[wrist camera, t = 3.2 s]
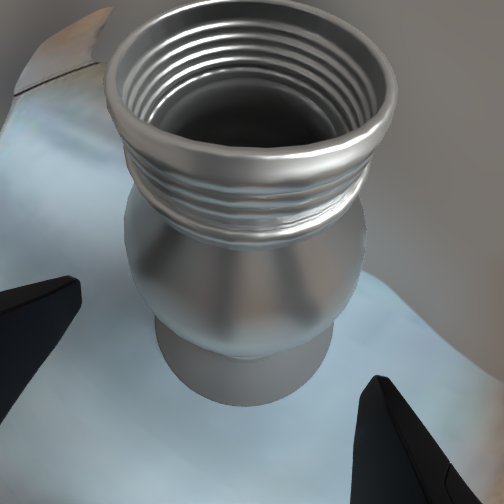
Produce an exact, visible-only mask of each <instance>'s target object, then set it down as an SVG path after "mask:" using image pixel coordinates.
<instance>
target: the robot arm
mask: <svg viewBox="0 0 504 504" xmlns="http://www.w3.org/2000/svg"><path fill="white" fill-rule="evenodd" d="M81 304H82V296H81V284H80V281H79V280H78V279H76V278H74V277H72V276H69V275H67V276H63V277H59V278H55V279H50V280H46V281H42V282H38V283H34V284H30V285H26V286H21V287H17V288H13V289H9V290H5V291H1V292H0V424H1V423H2V421H3V420H4V418H5V417H6V415H7V414H8V412H9V411H10V409H11V408H12V406H13V405H14V403H15V402H16V400H17V399H18V397H19V396H20V394H21V393H22V391H23V390H24V389H25V387H26V386H27V384H28V383H29V382H30V380H31V379H32V377H33V376H34V375H35V373H36V372H37V370H38V369H39V368H40V366H41V365H42V364H43V362H44V361H45V360H46V358H47V357H48V356H49V354H50V353H51V352H52V350H53V349H54V348H55V346H56V345H57V344H58V342H59V341H60V339H61V338H62V336H63V334H64V333H65V331H66V330H67V328H68V326H69V325H70V323H71V322H72V320H73V319H74V317H75V315H76V314H77V312H78V311H79V309H80V307H81ZM350 504H482V503H481V502H480V500H479V499H478V498H477V497H476V496H475V494H474V493H473V492H472V491H471V489H470V488H469V487H468V486H467V485H466V483H465V482H464V480H463V479H462V478H461V476H460V475H459V474H458V472H457V471H456V469H455V468H454V467H453V465H452V464H451V463H450V461H449V460H448V458H447V457H446V455H445V454H444V453H443V451H442V450H441V448H440V447H439V446H438V444H437V443H436V441H435V440H434V439H433V437H432V436H431V434H430V433H429V432H428V430H427V429H426V427H425V426H424V425H423V423H422V422H421V421H420V419H419V418H418V417H417V415H416V414H415V412H414V411H413V410H412V408H411V407H410V406H409V404H408V403H407V402H406V400H405V399H404V398H403V396H402V395H401V394H400V392H399V391H398V390H397V388H396V387H395V386H394V384H393V383H392V382H391V380H390V379H389V378H388V377H385V376H380V375H375V376H374V377H373V378H372V379H371V380H370V382H369V383H368V385H367V386H366V388H365V389H364V390H363V392H362V393H361V396H360V399H359V407H358V415H357V423H356V430H355V437H354V446H353V466H352V483H351V497H350Z"/></svg>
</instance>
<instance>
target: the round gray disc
mask: <svg viewBox="0 0 504 504" xmlns="http://www.w3.org/2000/svg"><path fill="white" fill-rule="evenodd" d="M155 325H156V333H157V339H158V342H159V345H160V348H161V351H162V353H163V355H164V357H165V360H166V361H167V363H168V365H169V366H170V368H171V369H172V371H173V372H174V373H175V374H176V375H177V377H178V378H179V379H180V380H181V381H182V382H183V383H184V384H186V385H187V386H188V387H189V388H190V389H192V390H193V391H195V392H196V393H198V394H199V395H201V396H203V397H206V398H208V399H210V400H212V401H215V402H218V403H221V404H226V405H232V406H245V407H247V406H258V405H263V404H268V403H272V402H274V401H277V400H279V399H282V398H284V397H286V396H288V395H290V394H291V393H293V392H295V391H296V390H297V389H299V388H300V387H301V386H303V385H304V384H305V383H306V382H307V381H308V380H309V379H310V378H311V377H312V376H313V375H314V373H315V372H316V371H317V369H318V368H319V367H320V365H321V363H322V361H323V360H324V358H325V356H326V353H327V351H328V349H329V346H330V342H331V338H332V333H333V325H334V321H333V323H332V324H331V325H330V326H329V327H328V328H327V329H325V330H324V331H322V332H321V333H320V334H318V335H317V336H315V337H314V338H313V339H311V340H310V341H308V342H307V343H304V344H302V345H299V346H297V347H295V348H292V349H290V350H287V351H285V352H281V353H276V354H275V355H273V356H271V357H270V358H268V359H265V360H262V361H260V362H254V363H238V362H234V361H230V360H228V359H225V358H223V357H221V356H219V355H218V354H217V353H215V352H214V351H210V350H206V349H203V348H201V347H199V346H197V345H195V344H193V343H191V342H189V341H187V340H185V339H183V338H182V337H180V336H178V335H177V334H176V333H175V332H173V331H172V330H171V329H170V328H169V327H167V326H166V325H165V324H164V323H162V322H161V321H160V320H159V319H158V318H157V316H156V315H155Z"/></svg>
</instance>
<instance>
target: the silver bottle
mask: <svg viewBox="0 0 504 504" xmlns="http://www.w3.org/2000/svg"><path fill="white" fill-rule="evenodd" d="M103 79H104V92H105V96H106V102H107V109H108V111H109V113H110V115H111V118H112V120H113V122H114V124H115V126H116V128H117V131H118V133H119V135H120V137H121V139H122V141H123V143H124V153H125V159H126V164H127V168H128V170H129V172H130V174H131V176H132V178H133V180H134V184H133V187H132V189H131V191H130V194H129V196H128V200H127V205H126V210H125V216H124V241H125V247H126V252H127V256H128V261H129V265H130V269H131V272H132V276H133V279H134V282H135V284H136V286H137V288H138V290H139V292H140V294H141V296H142V298H143V300H144V301H145V302H146V304H147V305H148V306H149V308H150V309H151V310H152V311H153V313H154V314H155V315H156V316H157V318H158V319H159V320H160V321H161V322H162V323H164V324H165V325H166V326H167V327H169V328H170V329H171V330H172V331H173V332H175V333H176V334H177V335H178V336H180V337H182V338H183V339H185V340H187V341H189V342H191V343H193V344H195V345H197V346H199V347H201V348H203V349H206V350H210V351H214V352H215V353H217V354H218V355H219V356H221V357H223V358H225V359H228V360H230V361H234V362H238V363H254V362H260V361H262V360H265V359H268V358H270V357H271V356H273V355H275V354H276V353H281V352H285V351H287V350H290V349H292V348H295V347H297V346H299V345H302V344H304V343H307V342H308V341H310V340H311V339H313V338H314V337H315V336H317V335H318V334H320V333H321V332H322V331H324V330H325V329H327V328H328V327H329V326H330V325H331V324H332V323H333V321H334V320H335V319H336V318H337V317H338V316H339V315H340V314H341V312H342V311H343V310H344V309H345V307H346V305H347V304H348V302H349V300H350V298H351V296H352V295H353V293H354V291H355V289H356V286H357V283H358V279H359V276H360V272H361V269H362V265H363V260H364V255H365V249H366V231H367V228H366V222H365V216H364V209H363V206H362V203H361V200H360V197H359V195H358V194H359V192H360V190H361V188H362V186H363V185H364V183H365V181H366V179H367V177H368V174H369V169H370V165H371V161H372V156H373V154H374V152H375V151H376V149H377V147H378V145H379V144H380V142H381V140H382V139H383V136H384V135H385V133H386V131H387V130H388V127H389V126H390V124H391V122H392V120H393V115H394V109H395V107H396V105H397V96H398V85H397V81H396V77H395V73H394V71H393V69H392V67H391V65H390V63H389V61H388V59H387V58H386V56H385V55H384V54H383V53H382V52H381V50H380V49H379V48H378V47H377V46H376V44H374V42H372V41H371V40H370V39H369V38H368V37H367V36H366V35H364V34H363V33H362V32H361V31H360V30H358V29H357V28H355V27H353V26H352V25H350V24H349V23H347V22H346V21H344V20H342V19H340V18H338V17H336V16H334V15H332V14H330V13H328V12H325V11H323V10H320V9H317V8H314V7H312V6H309V5H306V4H302V3H298V2H294V1H290V0H199V1H195V2H192V3H188V4H184V5H181V6H178V7H175V8H173V9H170V10H168V11H165V12H163V13H161V14H159V15H157V16H155V17H153V18H151V19H150V20H148V21H146V22H144V23H143V24H141V25H140V26H139V27H138V28H136V29H135V30H133V31H132V32H131V33H130V34H129V35H127V36H126V37H125V39H124V40H123V41H122V42H121V43H120V44H119V45H118V46H117V47H116V49H115V50H114V52H113V54H112V55H111V57H110V59H109V61H108V62H107V66H106V70H105V74H104V78H103Z"/></svg>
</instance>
